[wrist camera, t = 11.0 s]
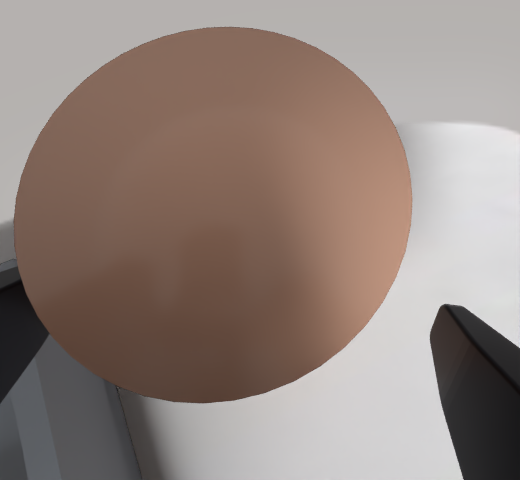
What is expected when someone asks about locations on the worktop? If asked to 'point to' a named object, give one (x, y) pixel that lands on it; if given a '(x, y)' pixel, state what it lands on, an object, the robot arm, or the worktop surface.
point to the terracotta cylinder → (212, 215)
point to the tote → (63, 422)
